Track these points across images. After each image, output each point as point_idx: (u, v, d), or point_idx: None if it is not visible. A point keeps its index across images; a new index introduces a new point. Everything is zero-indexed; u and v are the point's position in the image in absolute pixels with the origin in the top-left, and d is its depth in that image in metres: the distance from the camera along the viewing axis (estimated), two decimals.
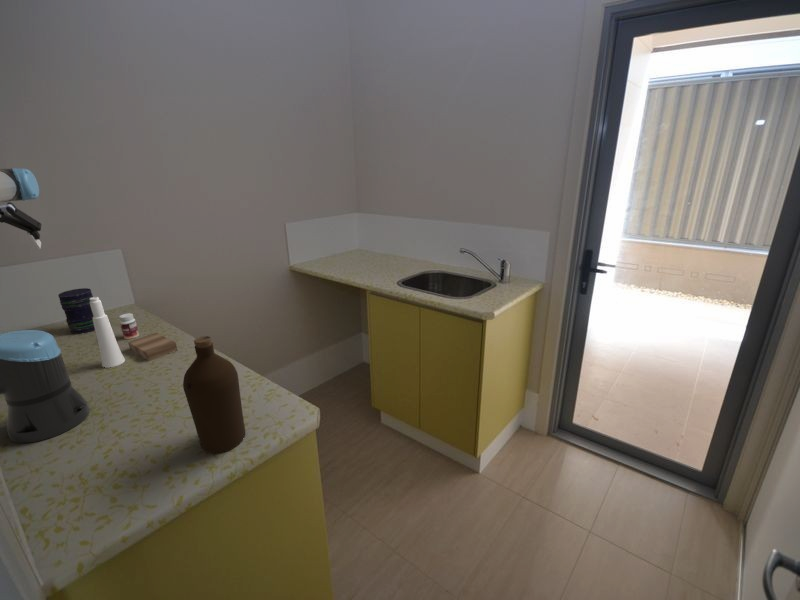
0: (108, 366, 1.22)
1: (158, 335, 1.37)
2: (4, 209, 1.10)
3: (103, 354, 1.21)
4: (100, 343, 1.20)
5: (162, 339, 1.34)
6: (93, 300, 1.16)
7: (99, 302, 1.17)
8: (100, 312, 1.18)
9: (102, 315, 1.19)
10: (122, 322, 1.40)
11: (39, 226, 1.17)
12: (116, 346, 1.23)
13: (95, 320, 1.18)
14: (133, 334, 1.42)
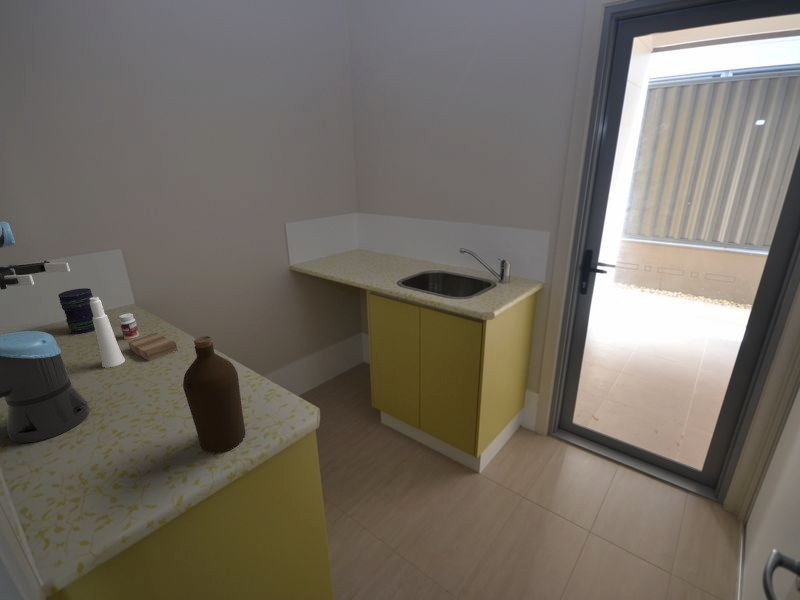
0: (108, 366, 1.22)
1: (158, 335, 1.37)
2: (9, 269, 1.18)
3: (103, 354, 1.21)
4: (100, 343, 1.20)
5: (162, 339, 1.34)
6: (93, 300, 1.16)
7: (99, 302, 1.17)
8: (100, 312, 1.18)
9: (102, 315, 1.19)
10: (122, 322, 1.40)
11: None
12: (116, 346, 1.23)
13: (95, 320, 1.18)
14: (133, 334, 1.42)
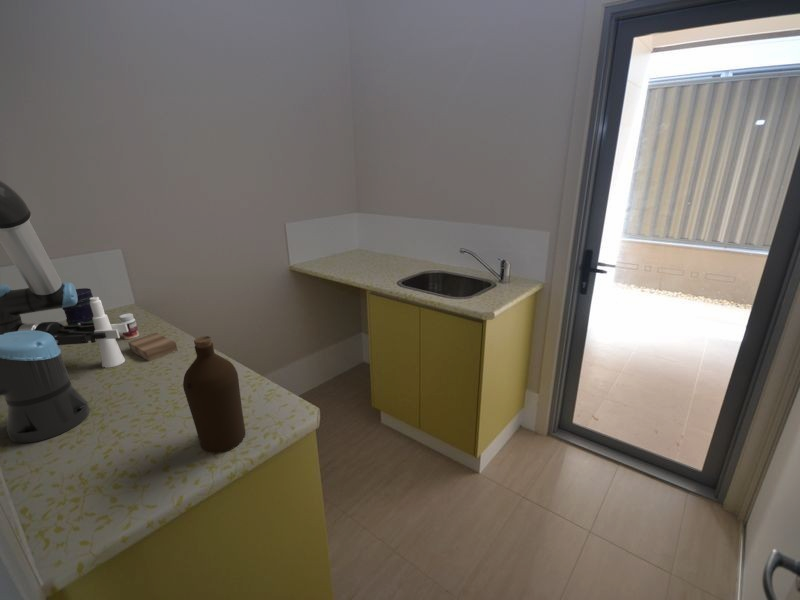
0: (108, 366, 1.22)
1: (158, 335, 1.37)
2: None
3: (103, 354, 1.21)
4: (100, 343, 1.20)
5: (162, 339, 1.34)
6: (93, 300, 1.16)
7: (99, 302, 1.17)
8: (100, 312, 1.18)
9: (102, 315, 1.19)
10: (122, 322, 1.40)
11: None
12: (116, 346, 1.23)
13: (95, 320, 1.18)
14: (133, 334, 1.42)
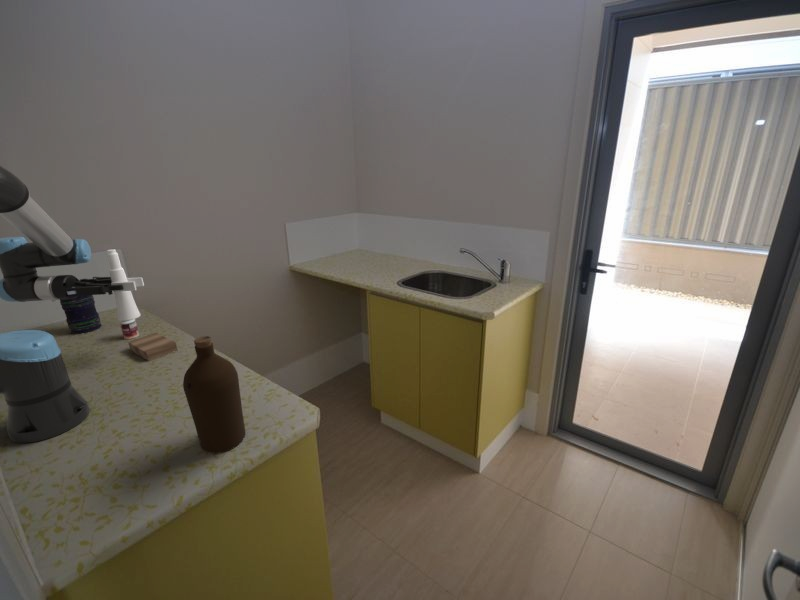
0: (125, 319, 1.23)
1: (158, 335, 1.37)
2: None
3: (120, 307, 1.22)
4: (117, 296, 1.21)
5: (162, 339, 1.34)
6: (110, 252, 1.18)
7: (116, 254, 1.19)
8: (117, 264, 1.20)
9: (119, 267, 1.20)
10: (122, 322, 1.40)
11: None
12: (132, 300, 1.24)
13: (112, 272, 1.19)
14: (133, 334, 1.42)
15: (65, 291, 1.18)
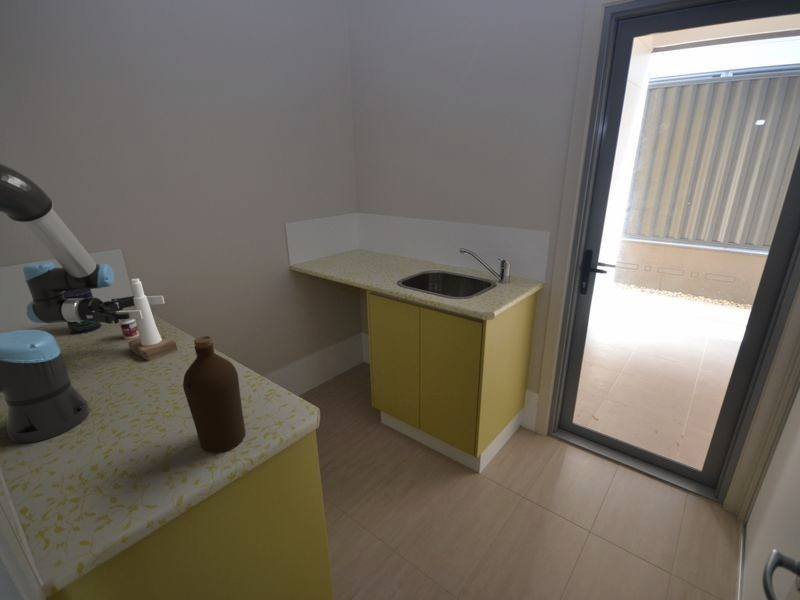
0: (147, 344, 1.29)
1: None
2: None
3: (143, 333, 1.28)
4: (140, 322, 1.27)
5: (162, 339, 1.34)
6: (134, 281, 1.23)
7: (140, 283, 1.25)
8: (140, 293, 1.25)
9: (142, 296, 1.26)
10: (122, 322, 1.40)
11: None
12: (154, 325, 1.30)
13: (136, 300, 1.25)
14: (133, 334, 1.42)
15: None
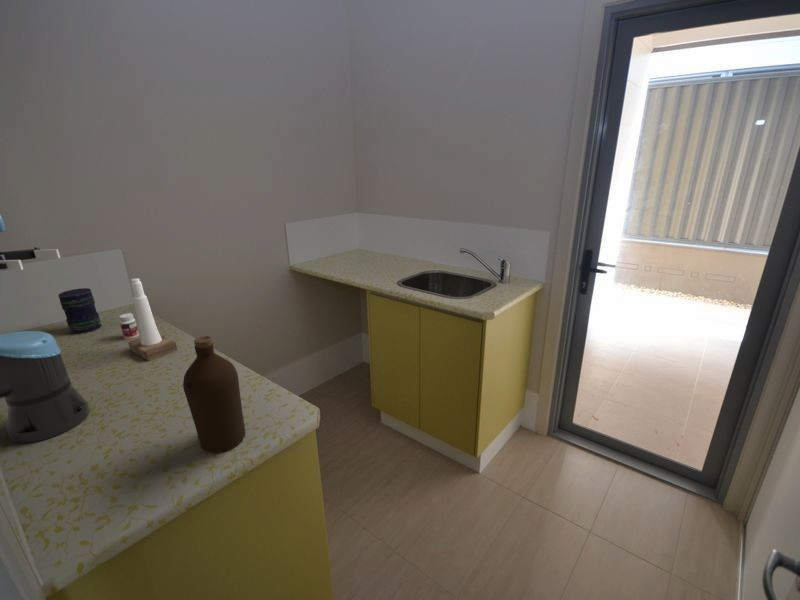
0: (147, 344, 1.29)
1: None
2: None
3: (143, 333, 1.28)
4: (140, 322, 1.27)
5: (162, 339, 1.34)
6: (134, 281, 1.24)
7: (140, 283, 1.25)
8: (141, 293, 1.25)
9: (142, 295, 1.26)
10: (122, 322, 1.40)
11: None
12: (154, 325, 1.30)
13: (136, 300, 1.25)
14: (133, 334, 1.42)
15: None
